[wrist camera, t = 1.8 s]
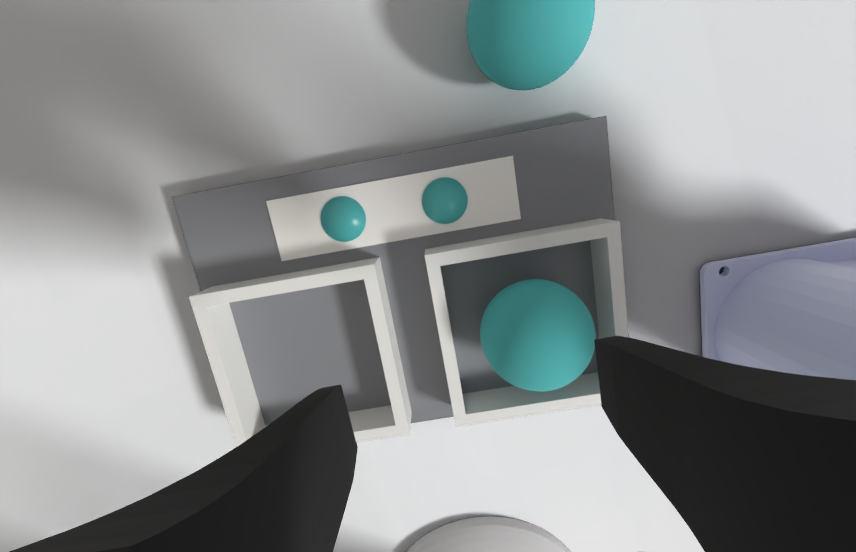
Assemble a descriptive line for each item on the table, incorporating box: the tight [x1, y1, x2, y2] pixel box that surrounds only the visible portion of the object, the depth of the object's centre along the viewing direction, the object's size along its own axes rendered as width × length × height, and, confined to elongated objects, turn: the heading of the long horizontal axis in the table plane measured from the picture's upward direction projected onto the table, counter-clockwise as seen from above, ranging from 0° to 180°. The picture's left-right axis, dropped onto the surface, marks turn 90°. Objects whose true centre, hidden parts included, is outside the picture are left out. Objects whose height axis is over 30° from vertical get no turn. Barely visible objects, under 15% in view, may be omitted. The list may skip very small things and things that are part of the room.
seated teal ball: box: [480, 279, 596, 392], centre depth 18 cm, size 5×5×5 cm
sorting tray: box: [172, 116, 629, 447], centre depth 20 cm, size 21×14×3 cm, turn 100°
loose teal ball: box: [467, 0, 595, 90], centre depth 16 cm, size 5×5×5 cm
